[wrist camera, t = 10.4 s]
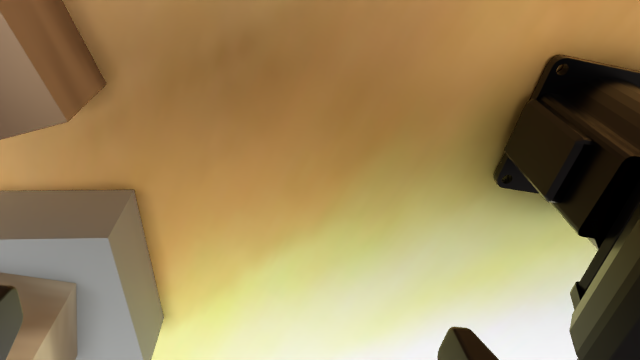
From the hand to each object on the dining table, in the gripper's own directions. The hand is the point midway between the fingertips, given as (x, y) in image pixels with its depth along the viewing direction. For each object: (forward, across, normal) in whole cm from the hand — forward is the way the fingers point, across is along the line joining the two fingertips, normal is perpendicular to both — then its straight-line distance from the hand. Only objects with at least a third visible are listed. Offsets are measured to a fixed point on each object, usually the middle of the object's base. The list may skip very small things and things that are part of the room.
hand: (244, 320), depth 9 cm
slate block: (+12, +10, +10) cm, 19 cm away
